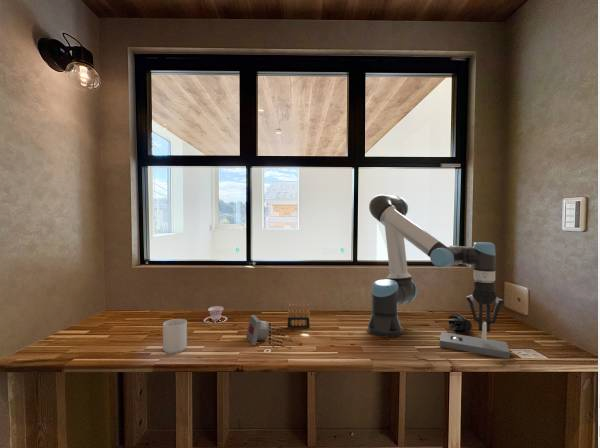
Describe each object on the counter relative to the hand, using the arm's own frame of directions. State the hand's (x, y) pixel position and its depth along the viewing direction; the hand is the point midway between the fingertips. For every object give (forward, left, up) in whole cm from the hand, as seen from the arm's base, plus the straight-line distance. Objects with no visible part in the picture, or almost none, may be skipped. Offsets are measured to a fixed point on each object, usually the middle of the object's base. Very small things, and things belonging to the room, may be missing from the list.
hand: (484, 339), depth 125 cm
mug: (-110, -58, -4) cm, 124 cm away
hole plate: (-4, 0, -4) cm, 6 cm away
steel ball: (-10, 0, -3) cm, 11 cm away
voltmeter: (-79, -37, -5) cm, 87 cm away
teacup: (-121, -24, -5) cm, 123 cm away
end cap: (-9, +20, -5) cm, 23 cm away
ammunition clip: (-78, -13, -4) cm, 79 cm away
